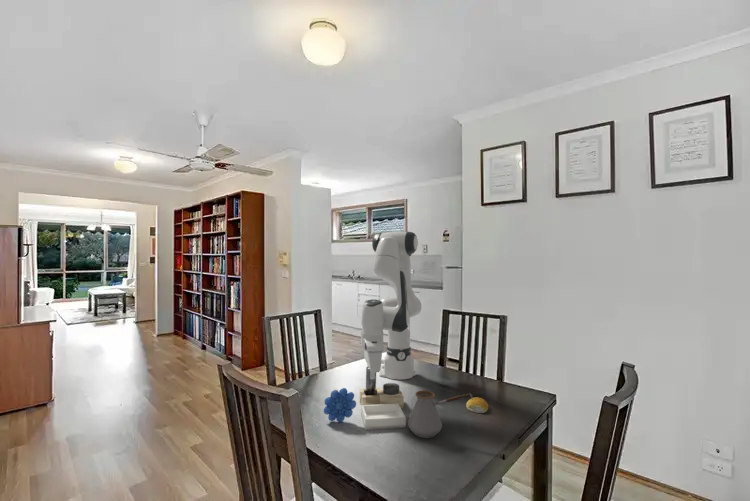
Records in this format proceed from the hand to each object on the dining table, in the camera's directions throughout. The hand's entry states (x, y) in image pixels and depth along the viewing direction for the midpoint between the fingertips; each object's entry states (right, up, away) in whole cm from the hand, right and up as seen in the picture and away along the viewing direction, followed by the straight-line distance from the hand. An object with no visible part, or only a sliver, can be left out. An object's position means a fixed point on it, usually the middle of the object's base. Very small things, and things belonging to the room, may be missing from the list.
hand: (371, 376), depth 147 cm
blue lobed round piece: (-11, -11, -14) cm, 21 cm away
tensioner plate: (+4, -11, 0) cm, 12 cm away
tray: (+4, -11, -14) cm, 18 cm away
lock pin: (0, -8, 0) cm, 8 cm away
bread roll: (+42, -12, -2) cm, 43 cm away
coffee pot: (+23, -12, -24) cm, 35 cm away
